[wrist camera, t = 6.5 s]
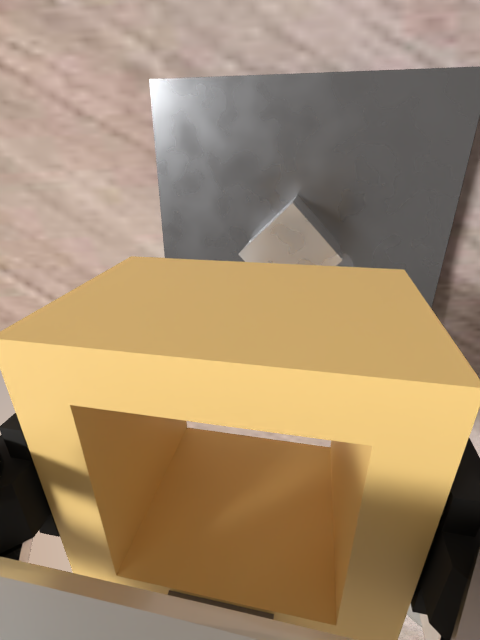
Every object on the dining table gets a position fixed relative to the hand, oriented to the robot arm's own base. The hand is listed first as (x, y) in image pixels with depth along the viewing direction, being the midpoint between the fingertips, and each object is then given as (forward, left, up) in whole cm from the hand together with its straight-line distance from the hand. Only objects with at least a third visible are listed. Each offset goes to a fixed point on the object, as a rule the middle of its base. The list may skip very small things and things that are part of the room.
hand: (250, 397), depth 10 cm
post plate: (0, -1, -16) cm, 16 cm away
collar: (0, 0, -1) cm, 1 cm away
